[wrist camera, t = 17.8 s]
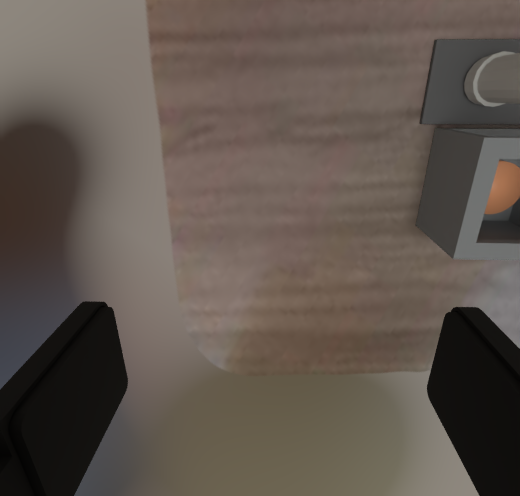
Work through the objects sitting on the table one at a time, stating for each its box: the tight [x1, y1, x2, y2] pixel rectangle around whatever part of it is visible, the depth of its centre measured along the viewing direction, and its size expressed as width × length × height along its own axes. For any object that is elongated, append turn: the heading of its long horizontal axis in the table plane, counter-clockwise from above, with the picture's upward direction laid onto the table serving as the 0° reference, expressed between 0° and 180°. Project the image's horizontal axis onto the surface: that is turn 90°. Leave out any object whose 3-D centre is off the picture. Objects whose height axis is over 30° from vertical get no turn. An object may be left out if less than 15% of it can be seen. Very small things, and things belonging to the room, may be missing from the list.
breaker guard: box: [416, 128, 520, 260], centre depth 41 cm, size 13×13×11 cm
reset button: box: [484, 160, 520, 214], centre depth 43 cm, size 6×6×3 cm
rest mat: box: [420, 39, 520, 125], centre depth 41 cm, size 9×13×1 cm
